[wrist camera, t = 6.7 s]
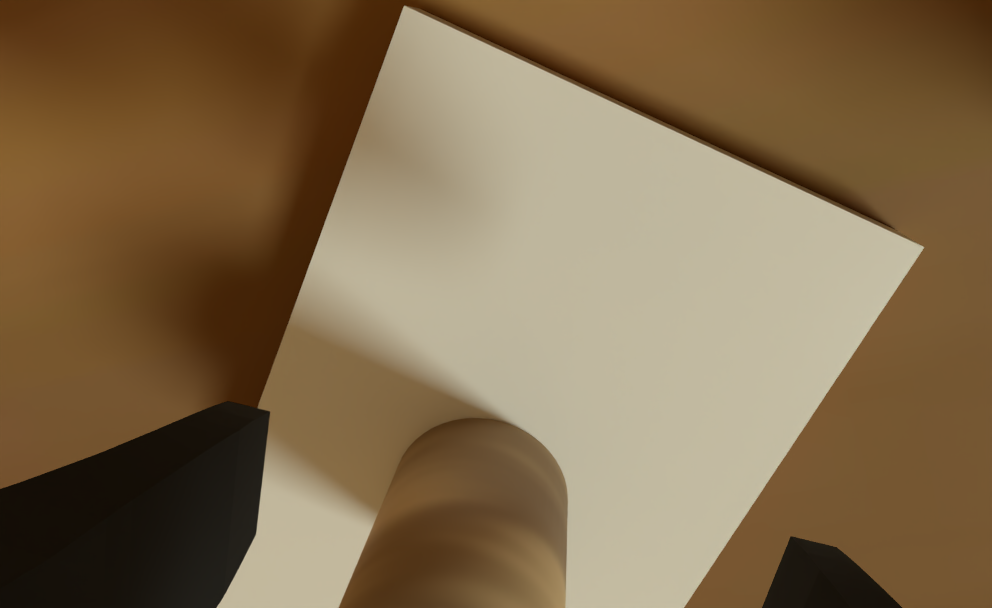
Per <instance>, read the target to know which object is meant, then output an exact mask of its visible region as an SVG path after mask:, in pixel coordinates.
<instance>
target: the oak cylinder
mask: <svg viewBox="0 0 992 608" xmlns="http://www.w3.org/2000/svg"><path fill="white" fill-rule="evenodd" d="M567 518H568V494H567V486H566V482H565V478H564V476H563V473H562V470H561V468H560V466H559V465H558V463H557V461H556V459H555V458H554V457H553V455H552V454H551V453H550V451H549V450H548V449H547V448H546V447H545V446H544V445H543V444H542V443H541V442H539V441H538V440H537V439H536V438H534V437H533V436H532V435H530V434H528V433H527V432H525V431H524V430H522V429H520V428H517V427H515V426H513V425H510V424H507V423H504V422H501V421H497V420H492V419H484V418H465V419H458V420H453V421H449V422H446V423H443V424H440V425H438V426H436V427H433V428H432V429H430V430H428V431H427V432H425V433H423V434H422V435H421V436H420V437H418V438H417V439H416V440H415V441H414V442H413V443H412V444H411V445H410V446H409V447H408V449H407V450H406V452H405V453H404V455H403V456H402V459H401V461H400V463H399V465H398V467H397V470H396V472H395V474H394V477H393V479H392V481H391V484H390V486H389V489H388V491H387V493H386V496H385V498H384V501H383V503H382V505H381V508H380V510H379V512H378V515H377V517H376V520H375V522H374V524H373V527H372V529H371V531H370V534H369V536H368V539H367V541H366V543H365V546H364V548H363V551H362V553H361V555H360V558H359V560H358V562H357V565H356V567H355V570H354V572H353V574H352V577H351V579H350V582H349V584H348V586H347V589H346V591H345V593H344V596H343V598H342V601H341V603H340V605H339V608H565V605H566V562H567Z"/></svg>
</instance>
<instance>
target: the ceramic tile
mask: <svg viewBox="0 0 992 608" xmlns="http://www.w3.org/2000/svg"><path fill="white" fill-rule="evenodd" d="M923 248H924V247H923V246H921V245H920V244H918V243H917V242H915V241H913V240H912V239H910V238H908V237H907V236H905V235H903V234H902V233H900V232H898V231H897V230H895V229H892V228H890V227H888V226H886V225H884V224H882V223H880V222H877V221H875V220H873V219H871V218H869V217H867V216H864V215H862V214H860V213H858V212H856V211H854V210H852V209H849V208H847V207H845V206H843V205H841V204H839V203H837V202H834V201H832V200H830V199H828V198H826V197H824V196H821V195H819V194H817V193H815V192H813V191H811V190H809V189H806V188H804V187H802V186H800V185H798V184H796V183H793V182H791V181H789V180H787V179H785V178H783V177H781V176H778V175H776V174H774V173H772V172H770V171H768V170H766V169H763V168H761V167H759V166H757V165H755V164H753V163H750V162H748V161H746V160H744V159H742V158H740V157H738V156H735V155H733V154H731V153H729V152H727V151H725V150H723V149H720V148H718V147H716V146H714V145H712V144H710V143H707V142H705V141H703V140H701V139H699V138H697V137H695V136H692V135H690V134H688V133H686V132H684V131H682V130H680V129H677V128H675V127H673V126H671V125H669V124H667V123H664V122H662V121H660V120H658V119H656V118H654V117H652V116H649V115H647V114H645V113H643V112H641V111H639V110H636V109H634V108H632V107H630V106H628V105H626V104H624V103H621V102H619V101H617V100H615V99H613V98H611V97H609V96H606V95H604V94H602V93H600V92H598V91H596V90H593V89H591V88H589V87H587V86H585V85H583V84H581V83H578V82H576V81H574V80H572V79H570V78H568V77H566V76H563V75H561V74H559V73H557V72H555V71H553V70H550V69H548V68H546V67H544V66H542V65H540V64H538V63H535V62H533V61H531V60H529V59H527V58H525V57H522V56H520V55H518V54H516V53H514V52H512V51H510V50H507V49H505V48H503V47H501V46H499V45H497V44H495V43H492V42H490V41H488V40H486V39H484V38H482V37H479V36H477V35H475V34H473V33H471V32H469V31H467V30H464V29H462V28H460V27H458V26H456V25H454V24H452V23H449V22H447V21H445V20H443V19H441V18H439V17H436V16H434V15H432V14H430V13H428V12H426V11H424V10H421V9H419V8H415V7H410V6H404V7H403V10H402V13H401V15H400V18H399V21H398V24H397V26H396V29H395V32H394V35H393V37H392V40H391V43H390V45H389V48H388V51H387V54H386V56H385V59H384V62H383V65H382V67H381V70H380V73H379V76H378V78H377V81H376V84H375V87H374V89H373V92H372V95H371V98H370V100H369V103H368V106H367V109H366V111H365V114H364V117H363V120H362V122H361V125H360V128H359V130H358V133H357V136H356V139H355V141H354V144H353V147H352V150H351V152H350V155H349V158H348V161H347V163H346V166H345V169H344V172H343V174H342V177H341V180H340V183H339V185H338V188H337V191H336V194H335V196H334V199H333V202H332V205H331V207H330V210H329V213H328V215H327V218H326V221H325V224H324V226H323V229H322V232H321V235H320V237H319V240H318V243H317V246H316V248H315V251H314V254H313V257H312V259H311V262H310V265H309V268H308V270H307V273H306V276H305V279H304V281H303V284H302V287H301V290H300V292H299V295H298V298H297V300H296V303H295V306H294V309H293V311H292V314H291V317H290V320H289V322H288V325H287V328H286V331H285V333H284V336H283V339H282V342H281V344H280V347H279V350H278V353H277V355H276V358H275V361H274V364H273V366H272V369H271V372H270V375H269V377H268V380H267V383H266V385H265V388H264V391H263V394H262V396H261V399H260V402H259V405H258V407H257V408H258V409H262V410H267V411H270V418H269V427H268V435H267V444H266V453H265V462H264V470H263V479H262V488H261V496H260V505H259V514H258V522H257V531H256V536H255V538H254V540H253V542H252V544H251V546H250V548H249V549H248V551H247V553H246V555H245V557H244V559H243V561H242V563H241V565H240V567H239V569H238V571H237V573H236V575H235V577H234V579H233V580H232V582H231V584H230V586H229V588H228V590H227V592H226V593H225V595H224V597H223V599H222V600H221V602H220V603H219V605H218V606H217V608H339V605H340V603H341V601H342V598H343V596H344V593H345V591H346V589H347V586H348V584H349V582H350V579H351V577H352V574H353V572H354V570H355V567H356V565H357V562H358V560H359V558H360V555H361V553H362V551H363V548H364V546H365V543H366V541H367V539H368V536H369V534H370V531H371V529H372V527H373V524H374V522H375V520H376V517H377V515H378V512H379V510H380V508H381V505H382V503H383V501H384V498H385V496H386V493H387V491H388V489H389V486H390V484H391V481H392V479H393V477H394V474H395V472H396V470H397V467H398V465H399V463H400V461H401V459H402V456H403V455H404V453H405V452H406V450H407V449H408V447H409V446H410V445H411V444H412V443H413V442H414V441H415V440H416V439H417V438H418V437H420V436H421V435H422V434H423V433H425V432H427V431H428V430H430V429H432V428H433V427H436V426H438V425H440V424H443V423H446V422H449V421H453V420H458V419H465V418H484V419H492V420H497V421H501V422H504V423H507V424H510V425H513V426H515V427H517V428H520V429H522V430H524V431H525V432H527V433H528V434H530V435H532V436H533V437H534V438H536V439H537V440H538V441H539V442H541V443H542V444H543V445H544V446H545V447H546V448H547V449H548V450H549V451H550V453H551V454H552V455H553V457H554V458H555V459H556V461H557V463H558V465H559V466H560V468H561V470H562V473H563V476H564V478H565V482H566V486H567V494H568V518H567V562H566V605H565V608H684V607H685V605H686V604H687V602H688V601H689V599H690V598H691V596H692V595H693V593H694V592H695V590H696V589H697V587H698V586H699V584H700V583H701V581H702V580H703V578H704V577H705V575H706V574H707V572H708V571H709V569H710V568H711V566H712V565H713V563H714V562H715V560H716V559H717V557H718V556H719V554H720V553H721V551H722V550H723V548H724V547H725V545H726V544H727V542H728V541H729V539H730V538H731V536H732V535H733V533H734V532H735V530H736V529H737V527H738V526H739V524H740V523H741V521H742V520H743V518H744V517H745V515H746V514H747V512H748V511H749V509H750V508H751V506H752V505H753V503H754V502H755V500H756V499H757V497H758V496H759V494H760V493H761V491H762V490H763V488H764V487H765V485H766V484H767V482H768V481H769V479H770V478H771V476H772V475H773V473H774V472H775V470H776V469H777V467H778V466H779V464H780V463H781V461H782V460H783V458H784V457H785V455H786V454H787V452H788V451H789V449H790V448H791V446H792V445H793V443H794V442H795V440H796V439H797V437H798V436H799V434H800V433H801V431H802V430H803V428H804V427H805V425H806V424H807V422H808V421H809V419H810V418H811V416H812V415H813V413H814V412H815V410H816V409H817V407H818V406H819V404H820V403H821V401H822V400H823V398H824V397H825V395H826V394H827V392H828V391H829V389H830V388H831V386H832V385H833V383H834V382H835V380H836V379H837V377H838V376H839V374H840V373H841V371H842V370H843V368H844V367H845V365H846V364H847V362H848V361H849V359H850V358H851V356H852V355H853V353H854V352H855V350H856V349H857V347H858V346H859V344H860V343H861V341H862V340H863V338H864V337H865V335H866V334H867V332H868V331H869V329H870V328H871V326H872V325H873V323H874V322H875V320H876V319H877V317H878V316H879V314H880V313H881V311H882V310H883V308H884V307H885V305H886V304H887V302H888V301H889V299H890V298H891V296H892V295H893V293H894V292H895V290H896V289H897V287H898V286H899V284H900V283H901V281H902V280H903V278H904V277H905V275H906V274H907V272H908V271H909V269H910V268H911V266H912V265H913V263H914V262H915V260H916V259H917V257H918V256H919V254H920V253H921V251H922V250H923Z"/></svg>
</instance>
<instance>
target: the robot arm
mask: <svg viewBox="0 0 992 608" xmlns="http://www.w3.org/2000/svg"><path fill="white" fill-rule="evenodd" d="M269 418H270V411H267V410H262V409H258V408H254V407H250V406H246V405H242V404H237V403H233V402H229V401H227V402H224V403H221V404H218V405H215V406H212V407H210V408H207V409H205V410H202V411H200V412H197V413H195V414H192V415H190V416H188V417H185V418H183V419H181V420H178V421H176V422H173V423H171V424H169V425H166V426H164V427H162V428H159V429H157V430H155V431H152V432H150V433H147V434H145V435H143V436H140V437H138V438H135V439H133V440H131V441H128V442H126V443H123V444H121V445H118V446H116V447H114V448H111V449H109V450H106V451H104V452H101V453H99V454H96V455H94V456H91V457H88V458H85V459H83V460H80V461H77V462H75V463H72V464H69V465H66V466H64V467H61V468H58V469H56V470H53V471H50V472H47V473H45V474H42V475H39V476H37V477H34V478H31V479H28V480H26V481H23V482H20V483H17V484H14V485H11V486H8V487H5V488H2V489H0V608H217V606H218V605H219V603H220V602H221V600H222V599H223V597H224V595H225V593H226V592H227V590H228V588H229V586H230V584H231V582H232V580H233V579H234V577H235V575H236V573H237V571H238V569H239V567H240V565H241V563H242V561H243V559H244V557H245V555H246V553H247V551H248V549H249V548H250V546H251V544H252V542H253V540H254V538H255V536H256V531H257V522H258V514H259V505H260V496H261V488H262V479H263V470H264V462H265V453H266V444H267V435H268V427H269ZM762 608H902V607H901V606H900V605H899V604H898V603H897V602H896V601H895V600H894V599H893V598H892V597H891V596H890V595H889V594H888V593H887V592H886V591H885V590H884V589H882V588H881V587H880V586H879V585H878V584H877V583H876V582H875V581H874V580H873V579H872V578H871V577H870V576H869V575H868V574H867V573H866V572H865V571H863V570H862V569H861V568H860V567H859V566H858V565H857V564H856V563H855V562H854V561H852V560H851V559H850V558H849V557H848V556H847V555H845V554H844V553H843V552H842V551H840V550H839V549H838V548H837V547H833V546H829V545H825V544H821V543H816V542H812V541H808V540H804V539H800V538H796V537H790V540H789V542H788V545H787V547H786V550H785V552H784V555H783V557H782V560H781V562H780V565H779V567H778V570H777V572H776V574H775V577H774V579H773V582H772V584H771V587H770V589H769V592H768V594H767V597H766V599H765V602H764V604H763V607H762Z"/></svg>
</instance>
